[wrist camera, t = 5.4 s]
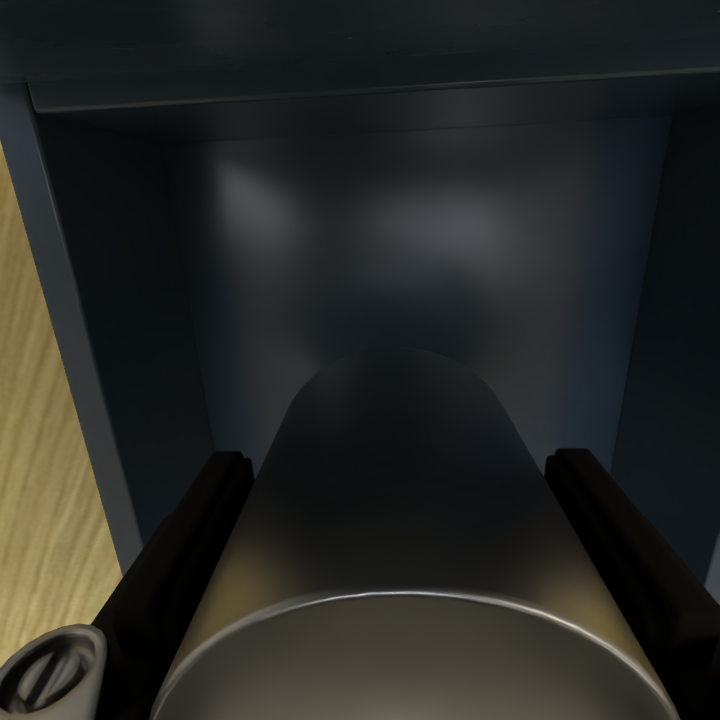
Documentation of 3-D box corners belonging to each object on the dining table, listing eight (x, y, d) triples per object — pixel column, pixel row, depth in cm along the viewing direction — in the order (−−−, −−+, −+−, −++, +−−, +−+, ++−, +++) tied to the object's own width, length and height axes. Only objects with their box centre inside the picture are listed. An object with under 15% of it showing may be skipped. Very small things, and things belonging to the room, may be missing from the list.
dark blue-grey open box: (600, 583, 18) (689, 746, 13) (226, 575, 19) (162, 721, 14) (690, 86, 12) (925, 0, 7) (144, 119, 14) (-23, 66, 8)
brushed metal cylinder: (318, 566, 13) (252, 947, 6) (245, 379, 11) (42, 646, 4) (530, 526, 12) (704, 917, 6) (490, 317, 10) (681, 534, 4)
